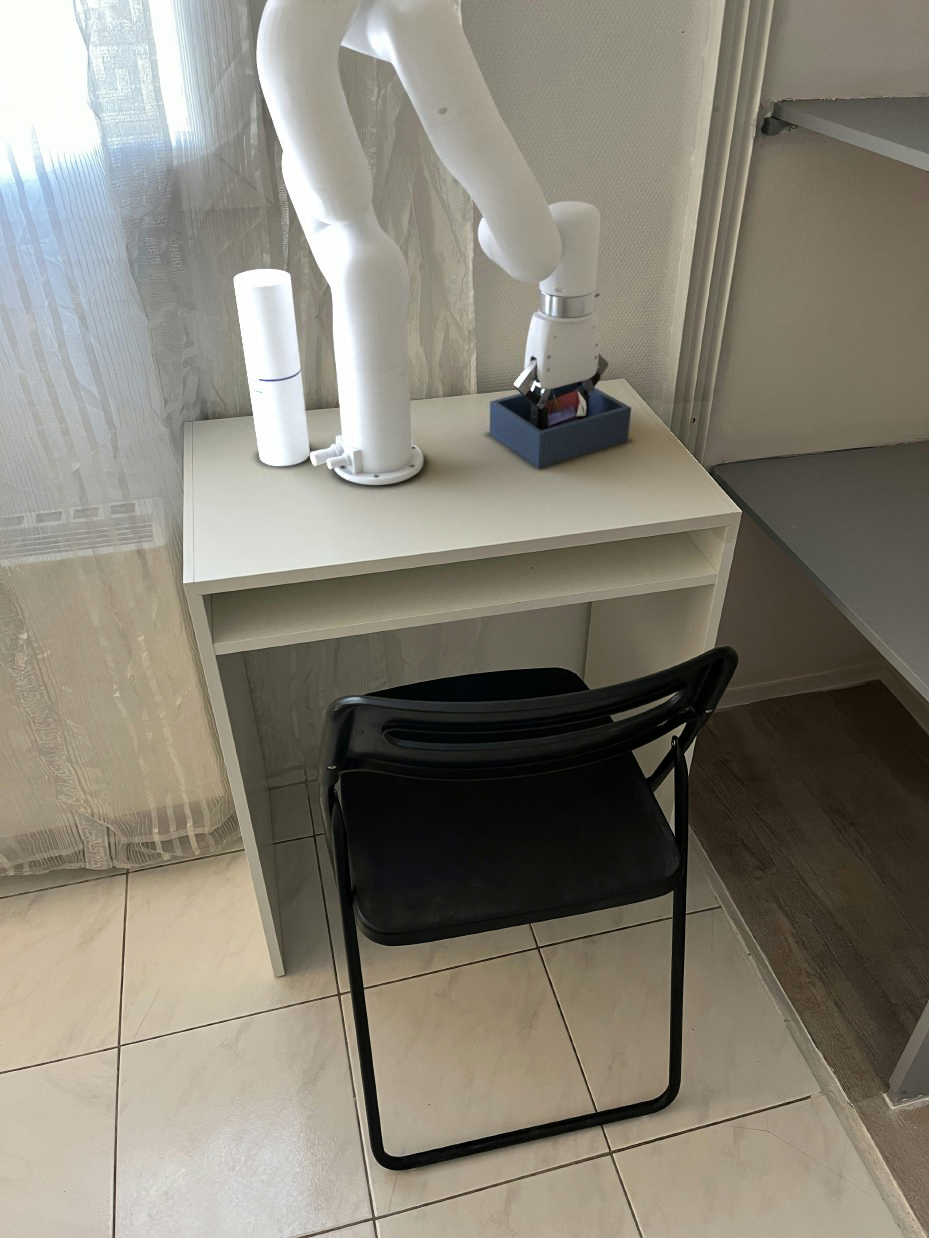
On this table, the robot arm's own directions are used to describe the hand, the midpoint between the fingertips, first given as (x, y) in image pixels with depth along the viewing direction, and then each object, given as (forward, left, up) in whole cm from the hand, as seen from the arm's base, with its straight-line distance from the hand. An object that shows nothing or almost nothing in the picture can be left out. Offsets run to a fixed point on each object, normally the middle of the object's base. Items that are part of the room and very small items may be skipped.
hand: (559, 423), depth 137 cm
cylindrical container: (-37, +17, -3) cm, 40 cm away
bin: (0, 0, -2) cm, 2 cm away
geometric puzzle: (0, 0, -1) cm, 1 cm away
